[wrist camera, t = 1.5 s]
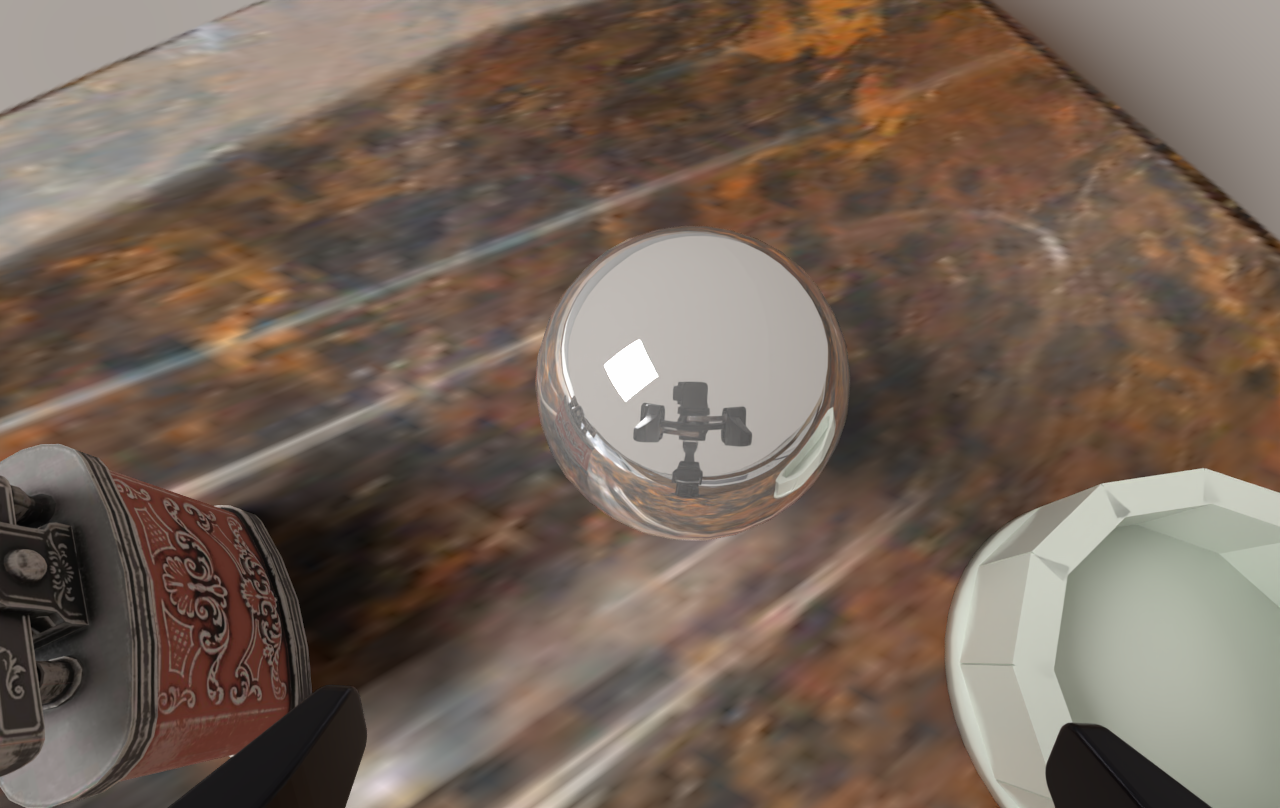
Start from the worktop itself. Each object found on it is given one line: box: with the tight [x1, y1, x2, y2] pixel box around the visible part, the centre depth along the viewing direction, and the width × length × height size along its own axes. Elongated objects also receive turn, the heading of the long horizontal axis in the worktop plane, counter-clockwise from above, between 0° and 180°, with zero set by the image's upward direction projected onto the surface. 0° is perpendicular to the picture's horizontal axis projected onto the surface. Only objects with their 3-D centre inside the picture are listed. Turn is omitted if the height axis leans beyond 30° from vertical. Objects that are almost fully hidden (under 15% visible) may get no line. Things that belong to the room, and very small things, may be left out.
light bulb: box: [535, 226, 850, 540], centre depth 17 cm, size 7×7×12 cm
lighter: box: [0, 444, 312, 808], centre depth 16 cm, size 8×3×10 cm, turn 27°
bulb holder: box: [945, 468, 1280, 808], centre depth 18 cm, size 12×12×4 cm
